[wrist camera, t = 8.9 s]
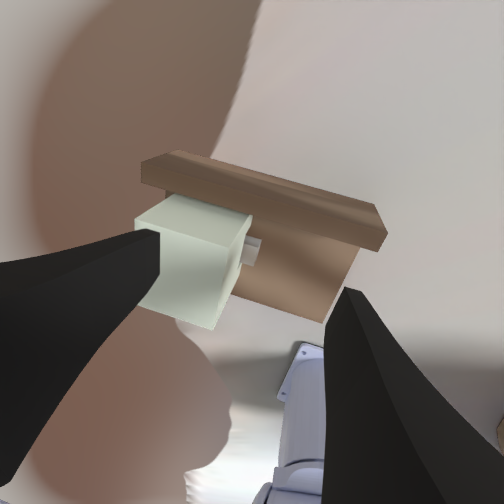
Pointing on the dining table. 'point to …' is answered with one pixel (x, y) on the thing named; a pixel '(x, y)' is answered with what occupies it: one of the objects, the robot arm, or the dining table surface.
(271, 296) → the cleat board
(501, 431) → the pottery
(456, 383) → the dining table surface
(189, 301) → the sage block
